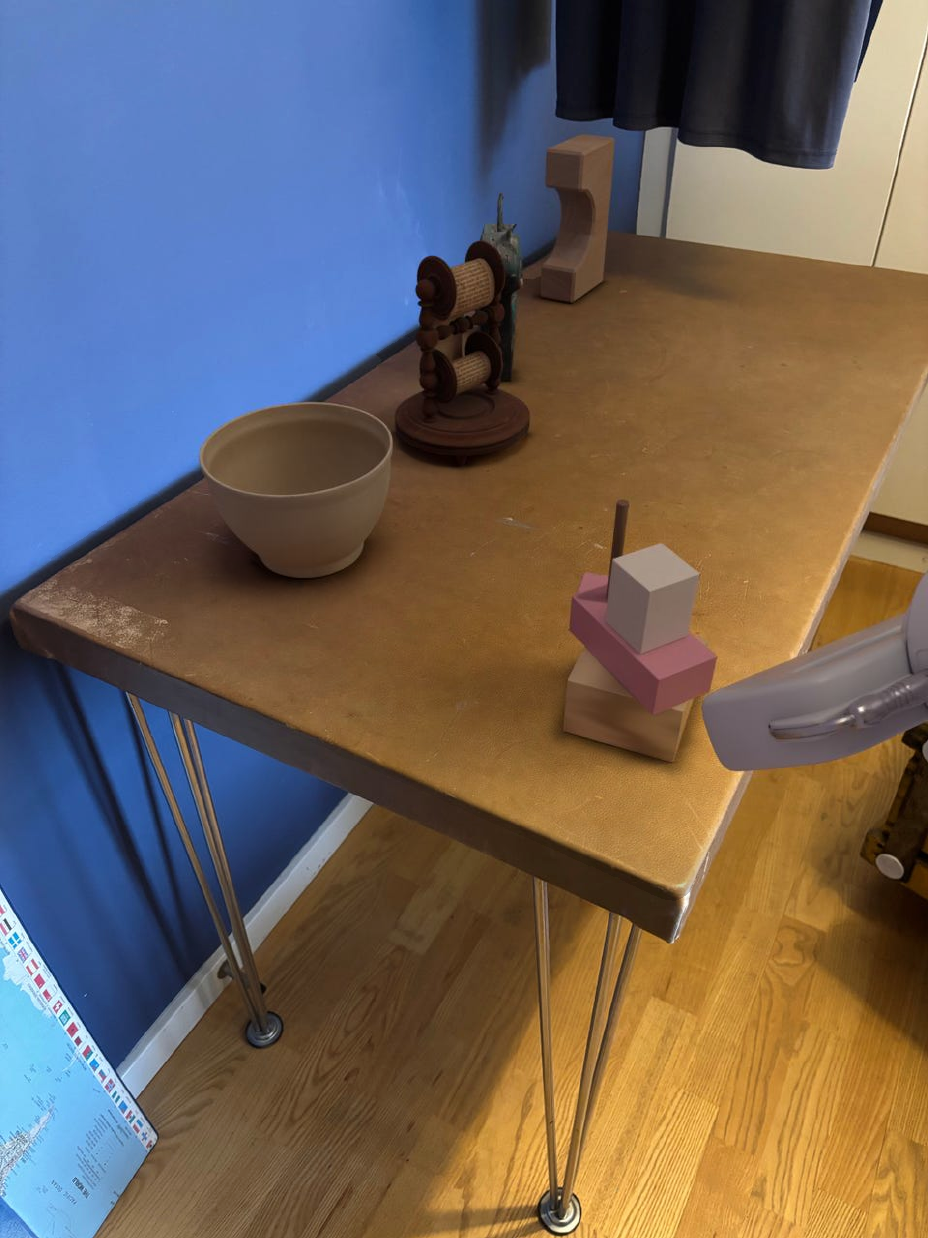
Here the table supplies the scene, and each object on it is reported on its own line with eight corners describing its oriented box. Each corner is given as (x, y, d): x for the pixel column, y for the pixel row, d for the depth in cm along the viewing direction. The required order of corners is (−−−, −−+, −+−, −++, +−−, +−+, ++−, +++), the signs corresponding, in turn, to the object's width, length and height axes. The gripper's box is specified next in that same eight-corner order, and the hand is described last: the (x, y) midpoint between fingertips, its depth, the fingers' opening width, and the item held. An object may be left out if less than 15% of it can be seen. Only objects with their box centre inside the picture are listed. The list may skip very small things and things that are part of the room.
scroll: (463, 394, 109) (461, 218, 97) (556, 434, 101) (567, 247, 88) (368, 435, 101) (353, 249, 89) (461, 483, 93) (458, 285, 80)
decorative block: (572, 304, 132) (582, 152, 120) (537, 297, 134) (544, 148, 122) (604, 282, 139) (617, 137, 127) (571, 276, 142) (580, 132, 129)
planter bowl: (187, 553, 83) (161, 446, 77) (324, 486, 92) (311, 386, 86) (295, 629, 75) (277, 516, 68) (435, 548, 84) (431, 441, 77)
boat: (710, 691, 61) (739, 557, 54) (652, 716, 60) (675, 580, 53) (607, 597, 70) (621, 470, 63) (554, 615, 68) (562, 487, 61)
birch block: (697, 689, 69) (707, 639, 66) (673, 763, 63) (683, 711, 60) (595, 662, 71) (600, 612, 68) (562, 731, 65) (567, 680, 62)
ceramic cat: (520, 387, 110) (526, 212, 98) (467, 387, 111) (466, 212, 98) (516, 325, 126) (521, 168, 113) (469, 325, 126) (469, 168, 113)
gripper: (864, 813, 33) (663, 802, 46) (1198, 641, 40) (944, 673, 53) (803, 650, 33) (620, 684, 46) (1146, 508, 41) (906, 572, 54)
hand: (796, 677), depth 50 cm, fingers open, 8 cm apart
